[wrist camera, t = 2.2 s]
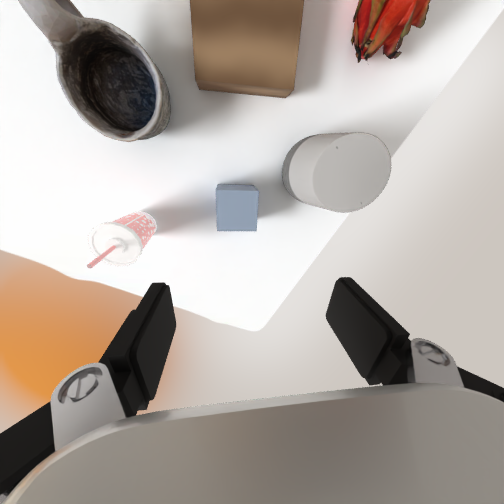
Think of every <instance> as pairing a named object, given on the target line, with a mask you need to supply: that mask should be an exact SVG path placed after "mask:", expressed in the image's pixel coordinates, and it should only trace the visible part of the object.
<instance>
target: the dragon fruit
mask: <svg viewBox="0 0 504 504" xmlns="http://www.w3.org/2000/svg"><path fill="white" fill-rule="evenodd" d="M429 2H430V0H359V2H358V6H357V9H356V12H355V15H354V18H353V22H355V23H354V29H353V35H352V39H351V42H352V45H353V42H354V45H355V49H356V57H357V59H358V63H359V62H360V60H361V59H365V60H367V59H368V58H370V57H372V56H373V55H374V54H375V53H376V52H377V51H378V50H379V48H380V47H381V46H382V45H384V46H383V55H384V54H385V55H386V56H387V57H388V58H390V59H392V58H394V59H395V58H397V57H398V56H399V55H400V54H401V53H402V52H400V51H399V52H397V50H398V49H399V48H400V46H401V44H402V40H403V37H404V36H405V35H407V34H408V33H409V31H410V28H411V25H413V26H416V27H417V28H421V27H422V26H423V25H424V23H425V20H426V14H427V12H428V9H429V5H428V4H429ZM399 39H400V40H399ZM398 41H399V42H398ZM397 43H398V45H397ZM396 46H397V49H396ZM368 65H369V64H368Z"/></svg>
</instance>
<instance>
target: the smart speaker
mask: <svg viewBox="0 0 504 504" xmlns="http://www.w3.org/2000/svg"><path fill="white" fill-rule="evenodd" d="M390 172H391V158H390V154H389V151H388V149H387V147H386V146H385V144H384V143H383V142H382V141H381V140H380V139H379V138H377V137H375V136H374V135H371V134H367V133H334V134H318V135H313V136H309V137H307V138H304V139H302V140H301V141H299V142H298V143H297V144H295V145H294V146H293V147H292V149H291V150H290V151H289V152H288V154H287V156H286V158H285V160H284V163H283V168H282V178H283V182H284V185H285V187H286V189H287V191H288V192H289V193H290V194H291V195H292V196H293V197H294V198H295V199H297V200H299V201H301V202H303V203H306V204H309V205H313V206H316V207H320V208H324V209H327V210H331V211H335V212H343V213H345V212H353V211H356V210H359V209H362V208H363V207H365V206H367V205H369V204H370V203H371V202H373V201H374V200H375V199H376V198H377V197H378V196H379V195H380V194H381V192H382V191H383V189H384V188H385V186H386V184H387V182H388V180H389V176H390Z"/></svg>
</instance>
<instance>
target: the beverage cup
mask: <svg viewBox="0 0 504 504" xmlns="http://www.w3.org/2000/svg"><path fill="white" fill-rule="evenodd" d="M156 229H157V224H156V221H155V219H154V218H153V217H152V216H151V215H149V214H148V213H146V212H142V211H138V212H134V213H132V214H129V215H127V216H125V217H122V218H120V219H118V220H115V221H113V222H108V223H103V224H101V225H99V226H97V227H95V228H93V229H92V231H91V232H90V234H89V235H88V244H89V246H90V249H91V251H92V252H93V253H94V254H95V255H96V256H97V258H96V259H95V260H93V261H92V262H91V263H89V264H88V265H87V267H88V268H92V267H93V266H95V265H96V264H97V263H98V262H100V261H101V260H102V261H104V262H105V263H107V264H110V265H115V266H128V265H130V264H132V263H134V262H136V260H137V259H138V258H139V256H140V255H141V254H142V249H143V248H144V246H145V245H146V244H147V242H148V241H149V240H150V238H151V237H152V236H153V234H154V233H155V232H156Z"/></svg>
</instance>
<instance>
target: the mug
mask: <svg viewBox="0 0 504 504" xmlns="http://www.w3.org/2000/svg"><path fill="white" fill-rule="evenodd" d="M18 1H19V2H20V4H21V5H22V7H23V9H24V10H25V11H26V13H27V14H28V15H29V16H30V18H31V19H32V20H33V22H34V23H35V24H36V26H37V27H38V28H39V29H40V30H41V31H42V32H43V34H44V35H45V36H46V37H47V39H48V41H49V43H50V44H51V46H52V47H53V48H54V50H55V52H56V69H57V76H58V80H59V83H60V85H61V87H62V90H63V92H64V94H65V96H66V98H67V100H68V101H69V103H70V105H71V106H72V107H73V108H74V109H75V110H76V111H77V113H78V115H79V116H80V117H81V118H82V120H83V121H85V122H86V123H87V124H88V125H90V126H91V127H92V128H94V129H95V130H97V131H98V132H100V133H101V134H103V135H104V136H106V137H109V138H112V139H116V140H120V141H127V142H131V141H135V140H144V139H149V138H152V137H154V136H156V135H158V134H160V133H161V132H162V131H163V130H164V129H165V128H166V127H167V124H168V122H169V119H170V113H171V107H170V98H169V91H168V88H167V85H166V83H165V80H164V78H163V76H162V74H161V73H160V71H159V69H158V68H157V66H156V65H155V64H154V63H153V61H152V60H151V58H150V57H149V55H148V54H147V52H146V51H145V50H144V49H143V47H142V46H141V45H140V44H139V43H138V42H137V41H136V40H135V39H134V38H132V37H131V36H130V35H129V34H127V33H126V32H124V31H123V30H121V29H120V28H118V27H116V26H115V25H113V24H111V23H109V22H106V21H103V20H99V19H93V18H84V17H83V16H82V14H81V13H80V12H79V11H78V9H77V8H76V7H75V6H74V4H73V3H72V2H71V1H70V0H18Z"/></svg>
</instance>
